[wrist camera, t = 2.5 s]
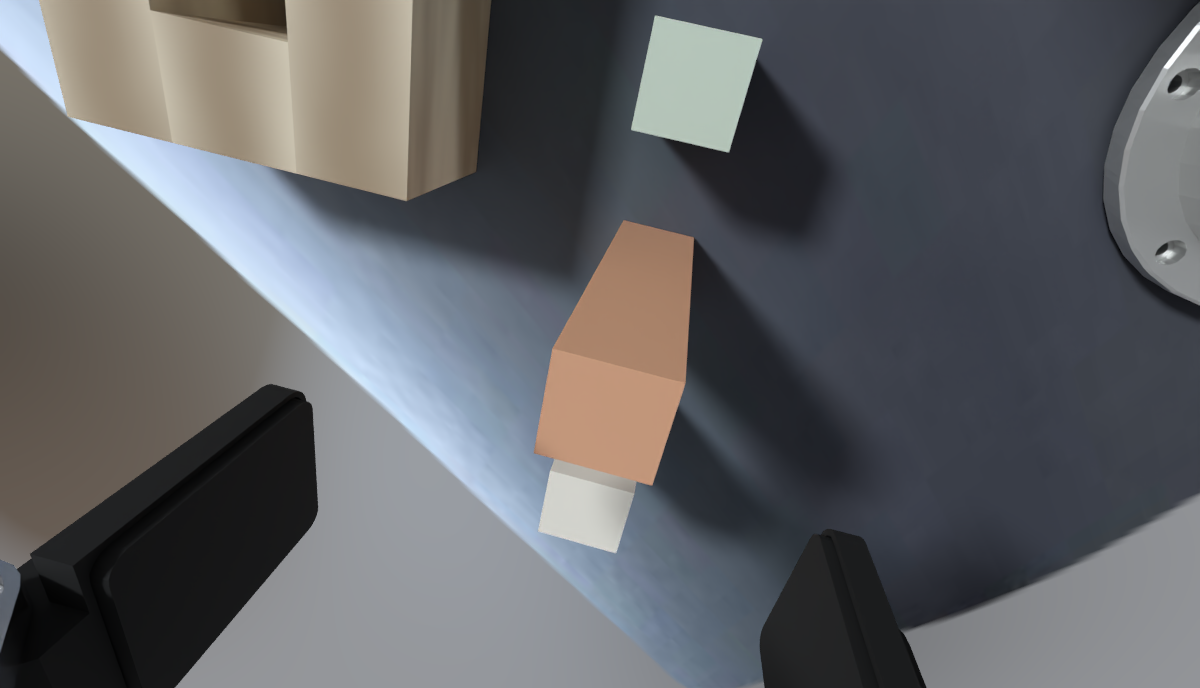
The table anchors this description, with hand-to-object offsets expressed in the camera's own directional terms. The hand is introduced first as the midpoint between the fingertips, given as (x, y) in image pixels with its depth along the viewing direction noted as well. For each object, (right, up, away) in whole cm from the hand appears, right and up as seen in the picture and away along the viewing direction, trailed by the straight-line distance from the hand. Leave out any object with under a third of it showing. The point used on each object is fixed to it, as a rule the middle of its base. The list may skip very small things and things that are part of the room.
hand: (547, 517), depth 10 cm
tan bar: (+3, +7, +13) cm, 15 cm away
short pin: (+4, +13, +10) cm, 17 cm away
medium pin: (+2, +1, +16) cm, 17 cm away
